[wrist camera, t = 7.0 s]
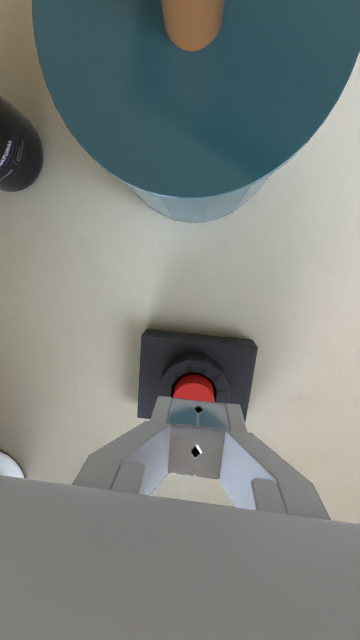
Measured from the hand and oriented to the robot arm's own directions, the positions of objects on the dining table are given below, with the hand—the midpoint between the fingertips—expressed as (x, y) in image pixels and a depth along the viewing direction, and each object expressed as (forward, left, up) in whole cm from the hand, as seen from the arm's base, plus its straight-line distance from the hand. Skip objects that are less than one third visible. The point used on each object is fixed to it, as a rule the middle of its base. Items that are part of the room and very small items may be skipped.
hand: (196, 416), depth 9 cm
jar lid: (+2, -16, -6) cm, 17 cm away
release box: (0, +6, -16) cm, 17 cm away
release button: (0, +6, -13) cm, 14 cm away
